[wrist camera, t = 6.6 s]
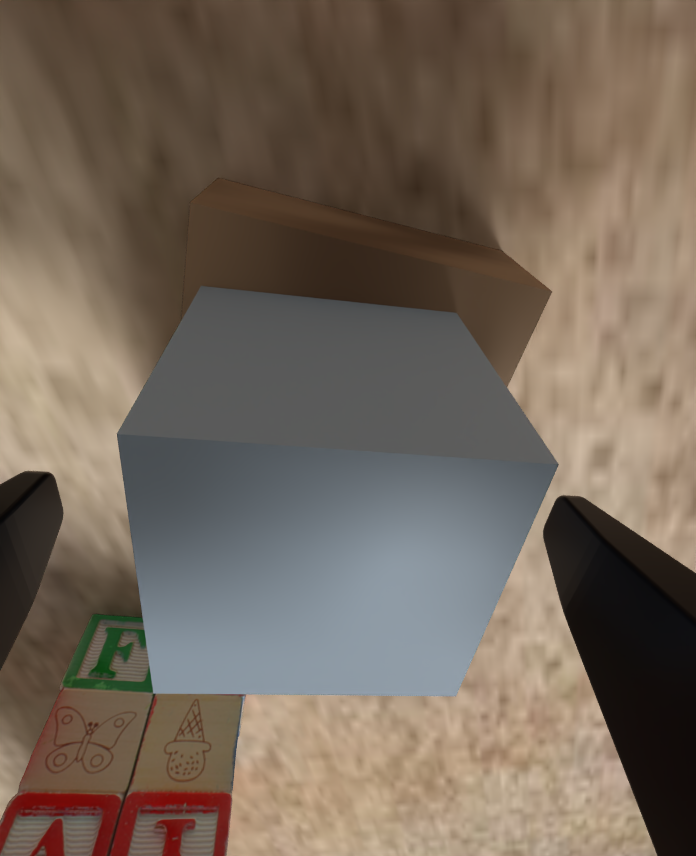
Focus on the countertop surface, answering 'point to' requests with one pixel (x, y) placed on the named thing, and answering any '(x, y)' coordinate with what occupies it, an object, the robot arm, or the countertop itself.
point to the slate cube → (323, 497)
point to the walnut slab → (358, 264)
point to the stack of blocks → (125, 760)
